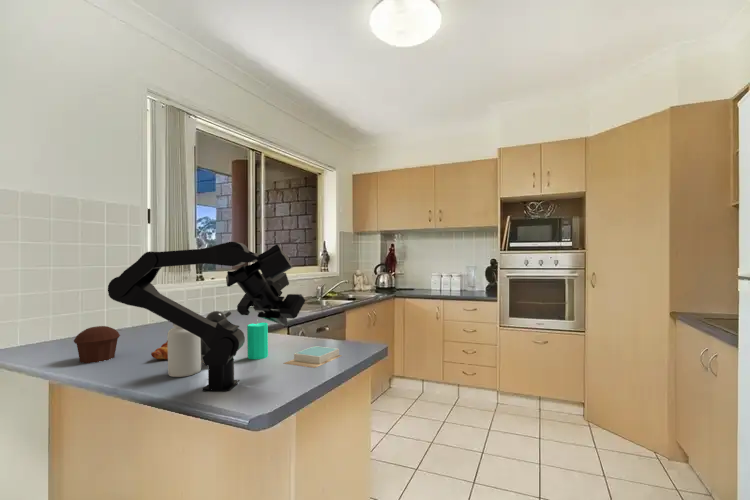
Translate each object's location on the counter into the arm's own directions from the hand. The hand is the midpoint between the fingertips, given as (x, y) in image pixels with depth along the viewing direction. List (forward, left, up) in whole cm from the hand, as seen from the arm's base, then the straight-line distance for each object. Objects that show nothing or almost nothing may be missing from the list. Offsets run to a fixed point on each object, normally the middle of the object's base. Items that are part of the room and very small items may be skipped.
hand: (285, 323), depth 102 cm
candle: (+12, +12, -13) cm, 21 cm away
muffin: (+13, +63, -13) cm, 66 cm away
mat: (+9, -6, -12) cm, 16 cm away
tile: (+6, -4, -11) cm, 13 cm away
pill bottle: (-2, +27, -13) cm, 30 cm away
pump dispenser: (+8, +23, -13) cm, 28 cm away
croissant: (+19, +38, -13) cm, 45 cm away
